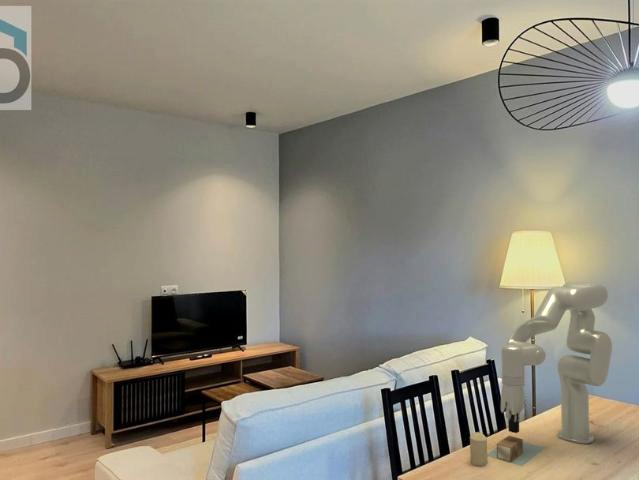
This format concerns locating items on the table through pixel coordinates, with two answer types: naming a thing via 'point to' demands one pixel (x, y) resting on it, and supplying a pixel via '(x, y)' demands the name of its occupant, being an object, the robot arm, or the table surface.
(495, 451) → the mat
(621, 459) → the table surface
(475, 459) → the candle
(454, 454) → the table surface
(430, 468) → the table surface
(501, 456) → the block
